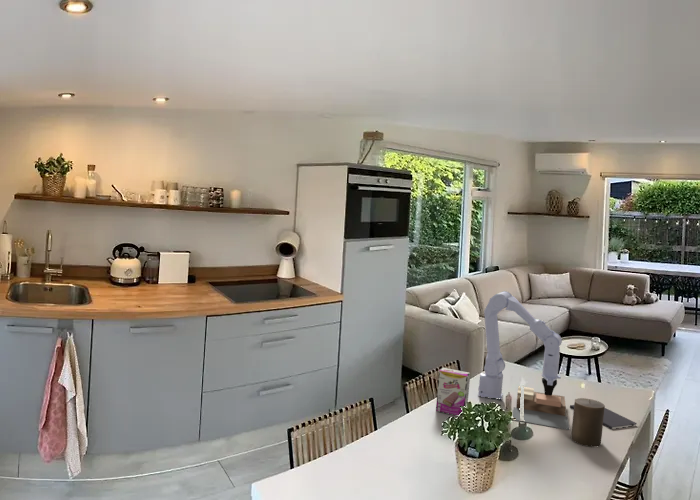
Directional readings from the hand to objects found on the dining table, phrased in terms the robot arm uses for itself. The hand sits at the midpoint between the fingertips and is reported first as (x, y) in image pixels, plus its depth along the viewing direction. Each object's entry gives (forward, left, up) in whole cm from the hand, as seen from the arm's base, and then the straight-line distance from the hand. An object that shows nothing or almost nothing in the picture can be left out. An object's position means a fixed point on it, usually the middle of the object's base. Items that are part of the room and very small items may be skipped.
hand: (547, 397), depth 216 cm
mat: (-3, -12, -5) cm, 13 cm away
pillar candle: (+12, -25, -5) cm, 29 cm away
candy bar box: (-35, -22, -5) cm, 41 cm away
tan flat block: (-3, +1, -5) cm, 5 cm away
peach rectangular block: (0, -4, -1) cm, 4 cm away
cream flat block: (-9, 0, -1) cm, 9 cm away
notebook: (+20, +2, -6) cm, 21 cm away
